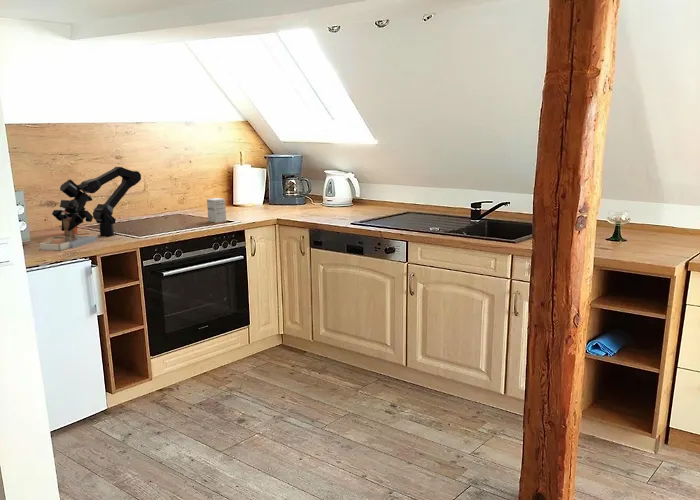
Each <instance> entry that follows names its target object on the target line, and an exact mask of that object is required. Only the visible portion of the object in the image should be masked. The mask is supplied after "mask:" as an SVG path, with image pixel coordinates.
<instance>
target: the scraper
mask: <svg viewBox="0 0 700 500" xmlns="http://www.w3.org/2000/svg"><path fill="white" fill-rule="evenodd" d="M71 220H72V218H67V219H63V226H64V231H63V232H64V236H53V237H52V238H53V239H57V238H65V240H66V242H71V241H74V240H77V238H75V236H76V234H75V233H74V228H73V229H72V230H71V231H68V227H69V225H70V222H71ZM53 239H52V240H53Z"/></svg>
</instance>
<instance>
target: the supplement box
mask: <svg viewBox="0 0 700 500" xmlns="http://www.w3.org/2000/svg"><path fill="white" fill-rule="evenodd" d="M206 205H207V220H208V222H209V223H216V224H217V223H222V222H223V223H224V222H227V211H226V199H225V198H221V197H214V198H206Z"/></svg>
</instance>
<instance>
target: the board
mask: <svg viewBox="0 0 700 500" xmlns="http://www.w3.org/2000/svg"><path fill="white" fill-rule="evenodd" d="M75 238H77V240H74V241H71V242H69V243H70V248H69V249H75V248H78V247H81V246H84V245H87V244H88V245H89V244H91V243H94V242H97V241H98V236H93V235H92V236H90V235H89V236H88V235H75ZM50 244H52V241H50Z"/></svg>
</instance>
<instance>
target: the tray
mask: <svg viewBox="0 0 700 500" xmlns="http://www.w3.org/2000/svg"><path fill="white" fill-rule="evenodd" d="M50 242H51V240H48V241H43V242H41V243H38V247H39V251H45V252H47V251H48V252H63V251H65V250H68V249H71V248H70V243H69V242H65V243H62V244H50Z"/></svg>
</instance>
